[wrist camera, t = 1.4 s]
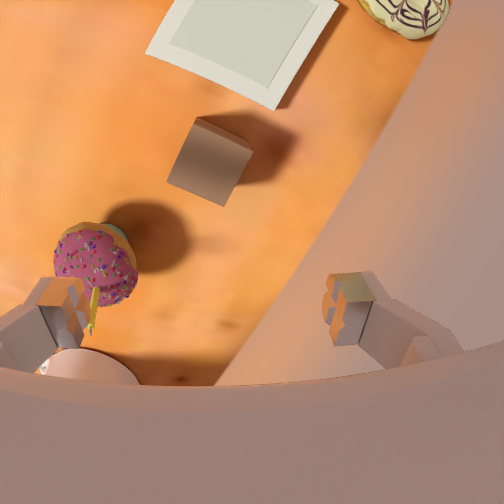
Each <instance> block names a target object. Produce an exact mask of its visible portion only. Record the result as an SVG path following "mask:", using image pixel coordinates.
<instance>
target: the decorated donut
mask: <svg viewBox="0 0 504 504" xmlns="http://www.w3.org/2000/svg"><path fill="white" fill-rule="evenodd" d="M357 1H358V3H359V4H360V6H361V7H362V8H363V9H364V10H365V11H366V12H367V13H368V14H369V15H370V16H371V17H372V18H373V19H374V20H375V21H376V22H377V23H379V24H381V25H383V26H384V27H386V28H388V29H390V30H393V31H395V32H398V33H399V34H401V35H402V36H403V37H405V38H407V39H419V38H422V37H425V36H428V35H431V34H433V33H434V32H435V31H437V30H438V29H439V28H440V27H441V26H442V25H443V24H444V22H445V21H446V19H447V15H448V13H449V2H448V0H357Z"/></svg>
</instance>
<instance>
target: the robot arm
mask: <svg viewBox="0 0 504 504" xmlns="http://www.w3.org/2000/svg"><path fill="white" fill-rule="evenodd" d="M326 285H327V288H328V292H327V293H326V294H325V295H324V298H323V316H324V319H325V322H326V323H327V324H329V325H330V326H331V327H330V331H329V333H330V335H331V338H332V340H333V343H334V346H343V345H354V344H359V346H360V347H361V348H362V349H363V350H365V351H366V352H367V353H368V354H369V355H370V356H372V357H373V358H374V359H375V360H376V361H377V362H378V363H380V364H381V365H382V366H383V367H384V368H385V369H386V370H381V371H375V372H369V373H363V374H357V375H350V376H343V377H336V378H328V379H320V380H312V381H311V380H310V381H300V382H289V383H276V384H262V385H240V386H152V385H140V384H139V382H138V380H137V379H136V377H135V376H134V375H133V373H132V372H131V371H130V370H129V369H128V368H126V367H125V366H124V365H123V364H121V363H120V362H118V361H116V360H115V359H113V358H111V357H109V356H107V355H104V354H102V353H99V352H96V351H92V350H88V349H81V348H79V347H80V345H81V342H82V340H83V337H84V333H83V329H84V328H86V327H87V326H88V325H89V322H90V318H91V307H90V302H89V299H88V298H87V297H86V296H85V295H84V294H83V292H84V290H85V286H84V284H83V281H82V279H80V278H75V277H42V278H41V279H40V280H39V282H38V283H37V285H36V286H35V288H34V289H33V291H32V292H31V294H30V295H29V297H28V298H27V300H26V301H25V303H24V304H23V305H18V306H17V307H15V308H14V309H12V310H11V311H9V312H8V313H6V314H4V315H3V316H1V317H0V504H504V340H503V341H500V342H497V343H494V344H490V345H487V346H484V347H480V348H477V349H473V350H470V351H466V352H464V351H463V349H462V348H461V346H460V345H459V343H458V342H457V340H456V339H455V337H454V336H453V335H452V333H451V332H450V330H449V329H447V328H445V327H443V326H442V325H440V324H438V323H436V322H435V321H433V320H431V319H429V318H428V317H426V316H424V315H422V314H421V313H419V312H417V311H415V310H414V309H412V308H410V307H408V306H407V305H405V304H403V303H401V302H399V301H397V300H396V299H391V298H390V296H389V295H388V293H387V292H386V290H385V289H384V288H383V286H382V284H381V283H380V282H379V280H378V279H377V277H376V276H375V274H374V273H373V272H372V271H365V272H356V273H339V274H338V273H337V274H329V276H328V278H327V282H326ZM58 348H69V349H65V350H62V351H60V352H58V353H56V354H53V353H54V352H55V351H56V350H57V349H58ZM38 368H40V371H41V374H35V373H34V372H35V371H36V370H37V369H38Z"/></svg>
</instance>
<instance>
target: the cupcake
mask: <svg viewBox="0 0 504 504" xmlns="http://www.w3.org/2000/svg"><path fill="white" fill-rule="evenodd" d="M54 252H55V254H54V269H55V274H56V277H75V278H80V279H82V281H83V284H84V286H85V290H84V292H83V294H84V295H85V296H86V297H87V298H88V299H89V302H90V307H91V318H90V322H89V325H88V326H87V328H89V335H90V336H92V334H91V332H92V329H93V328H94V325H95V318H96V312H97V307H99V306H100V307H103V306H111V305H113V304H119V303H120V301H122V300H123V299H124V298H128V297H129V295H130V293H131V292H132V291H133V289H134V288H135V287H136V284H137V280H138V272H137V263H136V256H135V254H134V252H133V250H132V248H131V246H130V245H129V243H128V240H127V238H126V236H125V234H124V233H123V232H122V231H121V230H120V229H119V228H117V227H116V226H114V225H111V224H105V223H103V224H97V223H91V222H82V223H79V224H77V225H75V226H73V227H71V228H69V229H67V230H66V231H65V232H64V233H63V235H62V236H61V237H60V239H59V241H58V243H57V246H56V250H55V251H54Z"/></svg>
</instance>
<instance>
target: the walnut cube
mask: <svg viewBox="0 0 504 504" xmlns="http://www.w3.org/2000/svg"><path fill="white" fill-rule="evenodd" d="M252 154H253V150H252V148H251V146H250V145H249V143H248V141H247V140H245V139H243V138H241V137H239V136H237V135H235V134H233V133H231V132H229V131H226V130H224V129H222V128H220V127H218V126H216V125H214V124H211V123H209V122H207V121H205V120H203V119H200V118H198V117H197V118H196V120H195V122H194V124H193V126H192V128H191V130H190V132H189V134H188V136H187V138H186V140H185V142H184V144H183V146H182V149H181V151H180V153H179V155H178V157H177V159H176V161H175V164H174V166H173V168H172V170H171V172H170V175H169V177H168V179H167V181H166V182H167V183H169V184H172V185H174V186H176V187H179V188H181V189H183V190H186V191H188V192H190V193H193V194H195V195H197V196H200V197H202V198H204V199H207V200H209V201H211V202H214V203H216V204H218V205H221V206H223V207H224V206H225V204H226V202H227V200H228V198H229V196H230V195H231V193H232V191H233V189H234V187H235V185H236V183H237V182H238V180H239V178H240V176H241V174H242V172H243V170H244V169H245V167H246V165H247V163H248V161H249V159H250V158H251V156H252Z"/></svg>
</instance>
